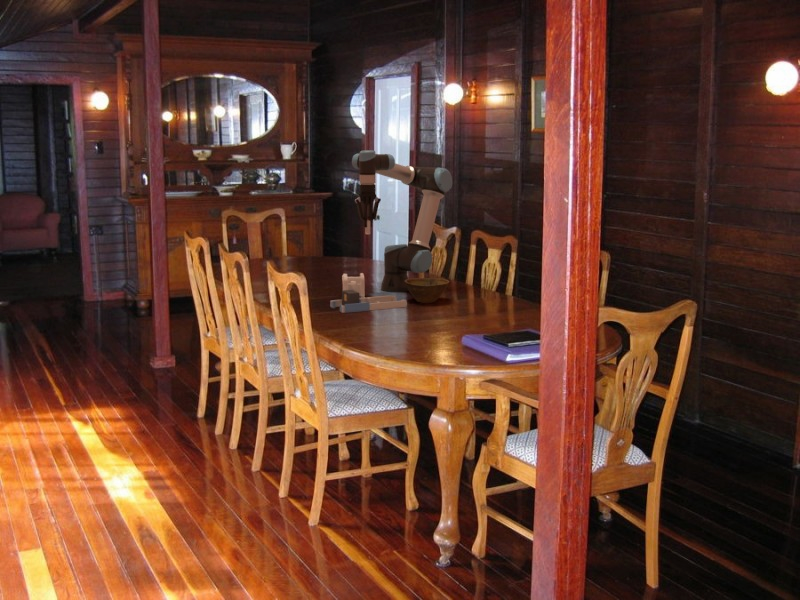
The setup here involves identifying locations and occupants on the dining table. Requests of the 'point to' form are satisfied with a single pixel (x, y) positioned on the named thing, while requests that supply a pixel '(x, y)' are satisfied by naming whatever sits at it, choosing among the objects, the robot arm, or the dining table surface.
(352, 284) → the cable organizer
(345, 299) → the dark brown block
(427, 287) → the bowl
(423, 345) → the dining table surface
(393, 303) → the slotted rail
